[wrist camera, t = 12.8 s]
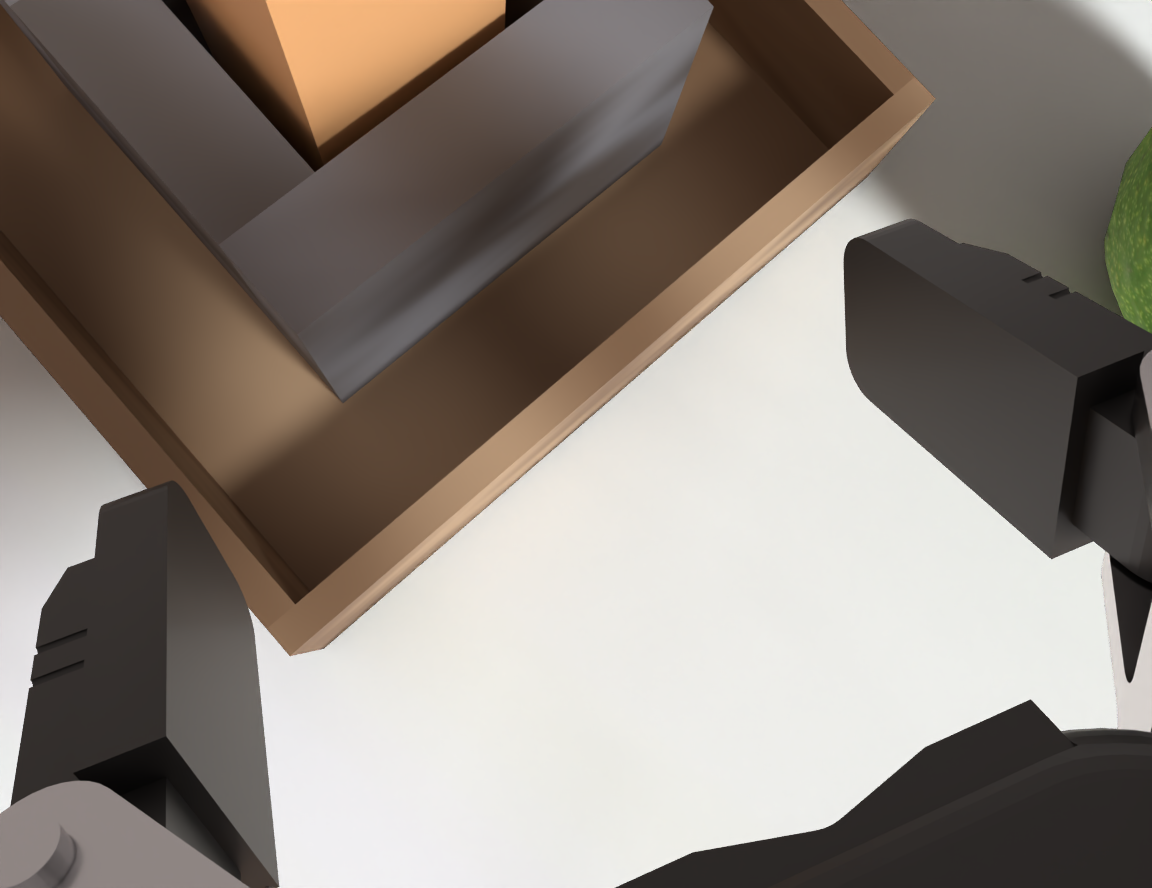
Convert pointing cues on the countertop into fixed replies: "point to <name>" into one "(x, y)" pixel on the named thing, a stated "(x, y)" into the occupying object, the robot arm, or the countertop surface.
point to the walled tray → (463, 383)
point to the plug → (340, 59)
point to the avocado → (1133, 239)
